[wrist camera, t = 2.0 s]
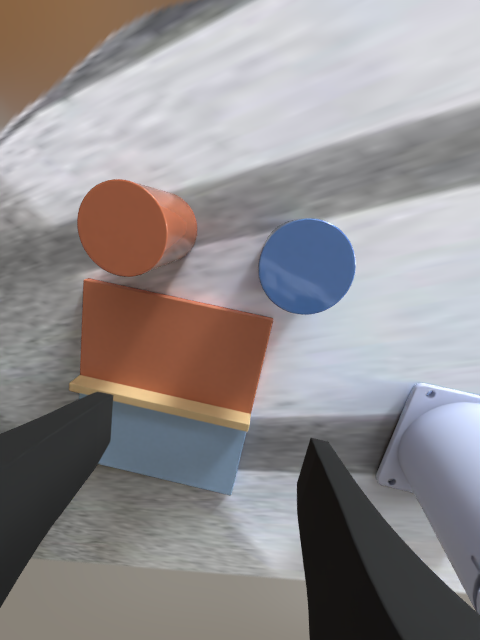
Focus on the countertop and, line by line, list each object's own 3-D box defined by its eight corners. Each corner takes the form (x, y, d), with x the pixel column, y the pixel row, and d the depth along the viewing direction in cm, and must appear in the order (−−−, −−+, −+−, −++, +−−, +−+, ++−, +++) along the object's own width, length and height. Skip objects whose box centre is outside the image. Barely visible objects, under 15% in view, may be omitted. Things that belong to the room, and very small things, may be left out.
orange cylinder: (202, 199, 18) (172, 189, 13) (192, 268, 19) (161, 285, 14) (134, 185, 18) (78, 170, 13) (129, 254, 19) (75, 266, 14)
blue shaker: (340, 227, 18) (369, 229, 12) (321, 295, 19) (339, 323, 14) (270, 213, 18) (269, 209, 13) (256, 281, 19) (249, 304, 14)
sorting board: (273, 317, 20) (273, 327, 18) (232, 489, 24) (228, 510, 22) (88, 277, 20) (71, 283, 18) (81, 453, 24) (66, 471, 23)
